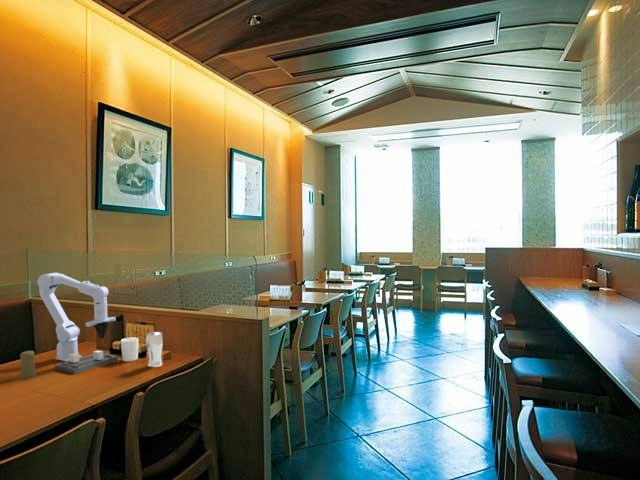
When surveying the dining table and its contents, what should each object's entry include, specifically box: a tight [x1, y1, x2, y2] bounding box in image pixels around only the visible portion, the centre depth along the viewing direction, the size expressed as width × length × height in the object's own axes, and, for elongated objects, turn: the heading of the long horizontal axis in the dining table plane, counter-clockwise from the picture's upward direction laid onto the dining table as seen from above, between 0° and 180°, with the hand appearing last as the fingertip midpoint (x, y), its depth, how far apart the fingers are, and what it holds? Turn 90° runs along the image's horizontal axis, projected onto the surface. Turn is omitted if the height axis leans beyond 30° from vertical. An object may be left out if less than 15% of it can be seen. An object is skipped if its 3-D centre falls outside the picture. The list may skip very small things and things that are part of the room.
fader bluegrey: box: [92, 350, 104, 360], centre depth 191 cm, size 4×2×4 cm, turn 62°
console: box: [54, 352, 119, 375], centre depth 190 cm, size 15×21×3 cm
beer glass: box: [146, 331, 164, 368], centre depth 187 cm, size 7×7×15 cm
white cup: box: [120, 336, 139, 362], centre depth 197 cm, size 8×8×10 cm
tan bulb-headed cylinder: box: [19, 350, 37, 380], centre depth 176 cm, size 6×6×11 cm
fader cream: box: [69, 352, 80, 363], centre depth 188 cm, size 4×2×4 cm, turn 62°
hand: (101, 337), depth 201 cm, fingers closed
